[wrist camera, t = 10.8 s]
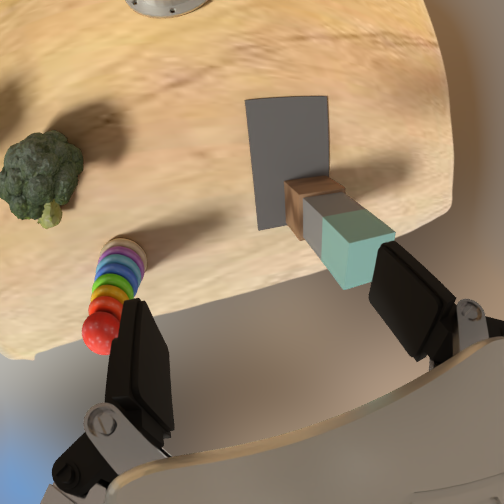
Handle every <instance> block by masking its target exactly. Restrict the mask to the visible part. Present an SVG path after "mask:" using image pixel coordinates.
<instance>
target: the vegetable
mask: <svg viewBox="0 0 504 504" xmlns="http://www.w3.org/2000/svg"><path fill="white" fill-rule="evenodd" d="M82 171H83V156H82V153H81V151H80V149H79V148H77V147H75V146H74V145H72V144H69V143H68V142H67V138H66V137H65V136H64V135H63V134H62V133H60V132H58V131H56V130H52V131H48V132H46V133H44V134H42V133H33V134H31V135H29V136H28V137H27V138H26V139H24V140H22V141H20V143H16V144H15V145H12V146H10V148H9V149H8V151H7V153H6V155H5V158H4V167H3V168H2V171H1V172H0V198H1V199H3V200H5V201H6V202H7V203H8V204H9V206H10V210H11V212H12V213H13V214H14V215H15V216H17V218H18V219H22V220H24V219H31V218H32V219H34V220H36V219H38V222H37V223H40V224H41V225H42V227H43V228H45V229H48V228H51V227H54V226H56V225H58V224H59V223H60V221H61V218H62V211H61V208H60V205H65V204H67V203H68V202H69V199H70V196H71V194H72V193H73V191H74V190H75V188H76V186H77V185H78V178H77V177H78V175H79V174H80V173H81V172H82Z"/></svg>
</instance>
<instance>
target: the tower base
mask: <svg viewBox="0 0 504 504" xmlns="http://www.w3.org/2000/svg"><path fill="white" fill-rule="evenodd" d="M284 192H285V213H286V223H287V225H288V226H289V227H290V229H291V230H292V231H293V232H294V234H295V235H296V236H297V238H298V239H299V240H300V241H302V240H305V239H304V238H303V198H305V197H311V196H318V195H324V194H331V193H338V192H343V193H345V188H344V187H343V186H341V185H340V184H338V183H337V182H335V181H334V180H332V179H331V178H329V177H328V176H326V175H325V176H317V177H309V178H301V179H294V180H287V181H284Z"/></svg>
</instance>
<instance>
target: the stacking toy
mask: <svg viewBox="0 0 504 504" xmlns="http://www.w3.org/2000/svg"><path fill="white" fill-rule="evenodd" d="M146 268H147V258H146V255H145V252H144V251H143V249H142V248H141V247H140V246H139V245H138V244H137V243H135V242H134V241H132V240H129V239H125V238H117V239H113V240H111V241H109V242H107V243H106V244H105V245H104V246H103V248H102V250H101V252H100V258H99V261H98V266H97V268H96V275H95V281H94V284H93V287H92V296H91V303H90V305H89V310H88V311H89V316H88V317H87V319H86V320H85V322H84V324H83V327H82V336H83V340H84V342H85V344H86V345H87V347H88V348H89V349H90V350H91V351H93V352H95V353H97V354H101V355H108V354H110V349H111V343H112V340H113V339H114V338H118V333H119V326H120V320H121V314H122V308H123V303H124V301H125V300H130V299H133V298H134V296H135V295H136V293H137V290H138V287H139V285H140V283H141V281H142V279H143V277H144V273H145V271H146Z"/></svg>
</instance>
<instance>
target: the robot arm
mask: <svg viewBox="0 0 504 504" xmlns="http://www.w3.org/2000/svg"><path fill="white" fill-rule="evenodd" d="M125 1H126V3H127V4H128V5H129V7H130V8H132V9H133V10H134V11H135V12H137V13H139V14H141V15H144V16H147V17H152V18H171V17H177V16H180V15H184V14H187V13H189V12H191V11H194V10H195V9H197V8H199V7H201V6H202V5H203V4H204V3H206V2H207V1H208V0H125ZM135 3H137V4H136V5H134V4H135ZM172 11H175V13H171V12H172ZM455 300H456V297H455V296H454V295H453V294H452V293H451V292H450V291H449V290H448V289H447V288H446V287H445V286H444V285H443V284H442V283H441V282H440V281H439V280H438V279H437V278H436V277H435V276H434V275H432V274H431V273H430V272H429V271H428V270H427V269H426V268H425V267H424V266H423V265H422V264H421V263H420V262H418V261H417V260H416V259H415V258H414V257H413V256H412V255H411V254H410V253H409V252H407V251H406V250H405V249H404V248H403V247H402V246H401V245H399V244H398V243H397V242H395V241H389V242H385V243H382V244H381V246H380V248H379V249H378V252H377V257H376V263H375V268H374V273H373V278H372V282H371V288H370V292H369V301H370V303H371V304H372V306H373V307H374V308H375V310H376V311H377V312H378V314H379V315H380V316H381V317H382V319H383V320H384V321H385V323H386V324H387V325H388V327H389V328H390V329H391V331H392V332H393V333H394V335H395V336H396V337H397V339H398V340H399V342H400V343H401V344H402V346H403V347H404V348H405V350H406V351H407V353H408V354H409V355H410V356H411V357H414V359H415V360H416V361H417V362H418V361H420V360H421V359H423V358H425V357H426V356H427V355H428V356H429V357H430V362H429V372H427V373H425V374H424V375H422V376H420V377H418V378H417V379H415V380H413V381H411V382H409V383H407V384H406V385H404V386H402V387H400V388H398V389H396V390H394V391H392V392H390V393H388V394H386V395H384V396H382V397H380V398H378V399H376V400H373V401H371V402H369V403H367V404H365V405H362V406H361V407H358V408H355V409H353V410H351V411H348V412H346V413H343V414H341V415H338V416H336V417H333V418H330V419H328V420H325V421H322V422H319V423H316V424H313V425H311V426H308V427H305V428H301V429H298V430H295V431H292V432H289V433H285V434H281V435H278V436H274V437H271V438H267V439H263V440H259V441H254V442H250V443H246V444H241V445H236V446H232V447H227V448H222V449H217V450H211V451H204V452H198V453H192V454H186V455H180V456H174V457H172V456H171V455H170V454H169V453H168V452H167V451H165V449H163V448H162V447H163V446H164V441H163V439H164V438H171V432H170V431H173V430H174V419H173V408H172V395H171V381H170V363H169V351H168V347H167V345H166V343H165V341H164V339H163V337H162V335H161V333H160V331H159V329H158V327H157V325H156V323H155V321H154V318H153V316H152V314H151V312H150V310H149V308H148V305H147V303H146V302H145V301H141V300H140V299H139V298H135V299H130V300H125V301H124V303H123V308H122V314H121V320H120V326H119V333H118V338H114V339H113V340H112V343H111V349H110V356H109V364H108V373H107V382H106V392H105V403H98V404H96V405H94V406H92V407H91V408H90V409H89V410H88V411H87V413H86V415H85V417H84V423H83V424H84V430H85V433H84V434H83V435H82V436H81V437H79V438H78V439H77V441H75V442H74V444H72V445H71V447H69V448H68V449H67V450H66V451H65V452H64V453H63V454H62V455H61V456H60V457H59V458H58V459H57V460H56V462H55V463H54V465H53V468H52V477H53V480H54V483H53V485H51V484H49V486H48V488H47V490H46V492H45V495H44V497H43V499H42V501H41V503H40V504H504V321H502V320H498V319H494V318H490V317H486V316H485V313H484V310H483V309H482V307H481V306H480V305H479V304H478V303H477V302H475V301H473V300H470V299H463V300H460V301H459V302H458V304H457V305H456V304H455V303H454V302H455Z"/></svg>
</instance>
